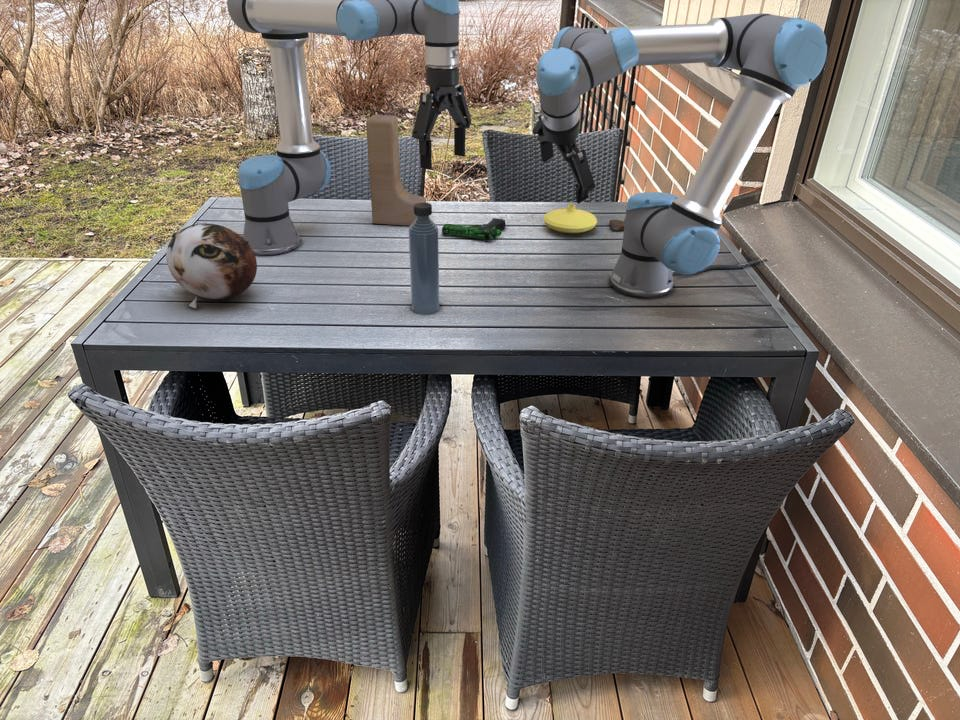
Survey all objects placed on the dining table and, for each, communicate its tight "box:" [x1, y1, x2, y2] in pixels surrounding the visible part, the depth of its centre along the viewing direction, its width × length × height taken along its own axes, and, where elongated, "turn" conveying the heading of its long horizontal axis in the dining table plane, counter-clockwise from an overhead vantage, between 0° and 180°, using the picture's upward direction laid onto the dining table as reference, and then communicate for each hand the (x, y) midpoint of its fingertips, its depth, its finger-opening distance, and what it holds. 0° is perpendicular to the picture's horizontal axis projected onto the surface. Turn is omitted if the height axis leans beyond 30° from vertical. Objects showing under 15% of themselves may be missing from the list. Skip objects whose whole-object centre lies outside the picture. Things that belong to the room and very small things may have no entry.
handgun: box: [441, 217, 506, 242], centre depth 207 cm, size 16×3×15 cm
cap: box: [414, 202, 433, 217], centre depth 153 cm, size 4×4×2 cm
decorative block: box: [365, 114, 427, 227], centre depth 207 cm, size 8×15×30 cm, turn 82°
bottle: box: [408, 215, 441, 315], centre depth 159 cm, size 6×6×24 cm
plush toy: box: [165, 222, 258, 309], centre depth 165 cm, size 22×18×20 cm
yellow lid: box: [543, 203, 598, 234], centre depth 209 cm, size 16×16×7 cm
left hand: (443, 161), depth 169 cm, fingers open, 13 cm apart
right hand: (564, 179), depth 161 cm, fingers open, 13 cm apart
